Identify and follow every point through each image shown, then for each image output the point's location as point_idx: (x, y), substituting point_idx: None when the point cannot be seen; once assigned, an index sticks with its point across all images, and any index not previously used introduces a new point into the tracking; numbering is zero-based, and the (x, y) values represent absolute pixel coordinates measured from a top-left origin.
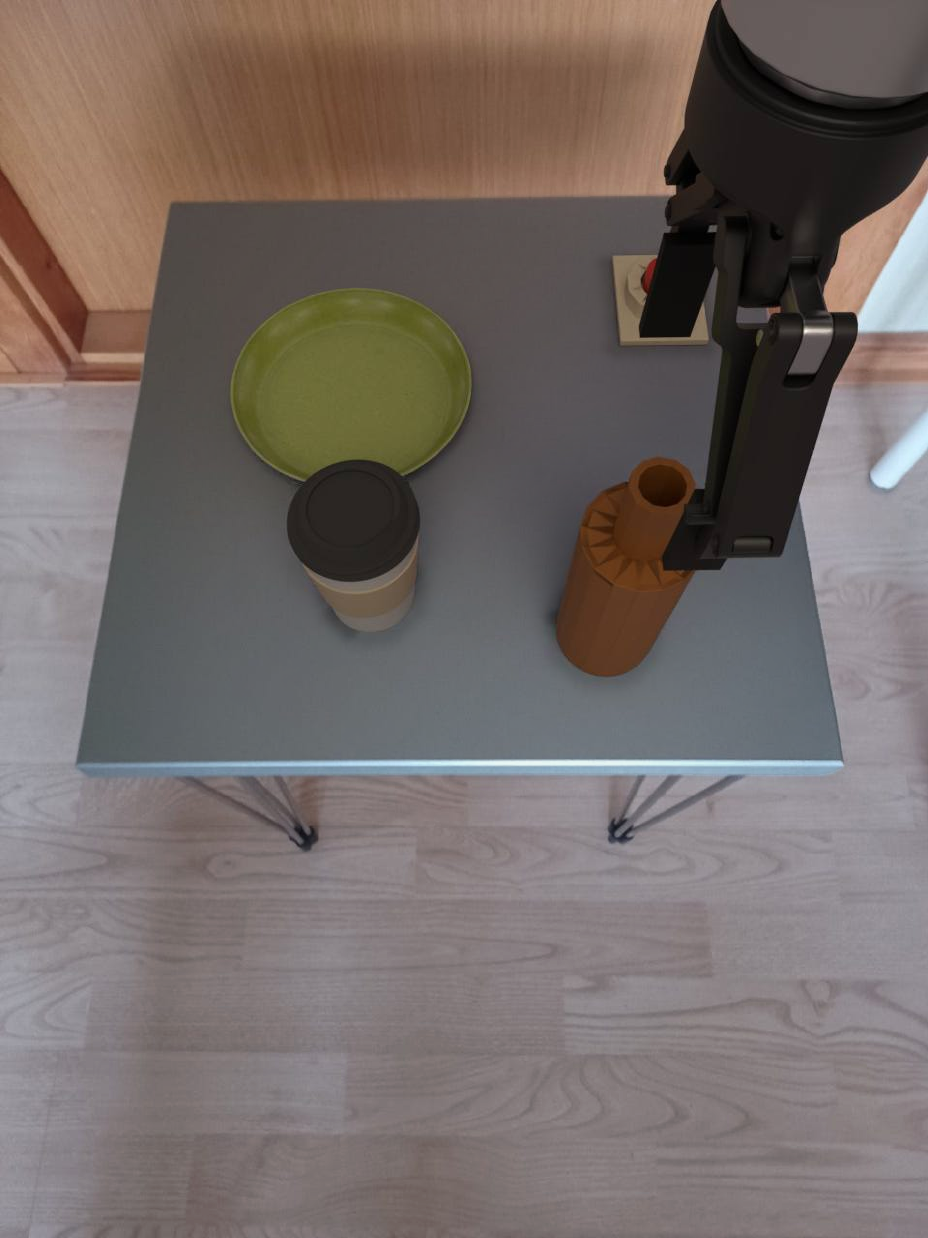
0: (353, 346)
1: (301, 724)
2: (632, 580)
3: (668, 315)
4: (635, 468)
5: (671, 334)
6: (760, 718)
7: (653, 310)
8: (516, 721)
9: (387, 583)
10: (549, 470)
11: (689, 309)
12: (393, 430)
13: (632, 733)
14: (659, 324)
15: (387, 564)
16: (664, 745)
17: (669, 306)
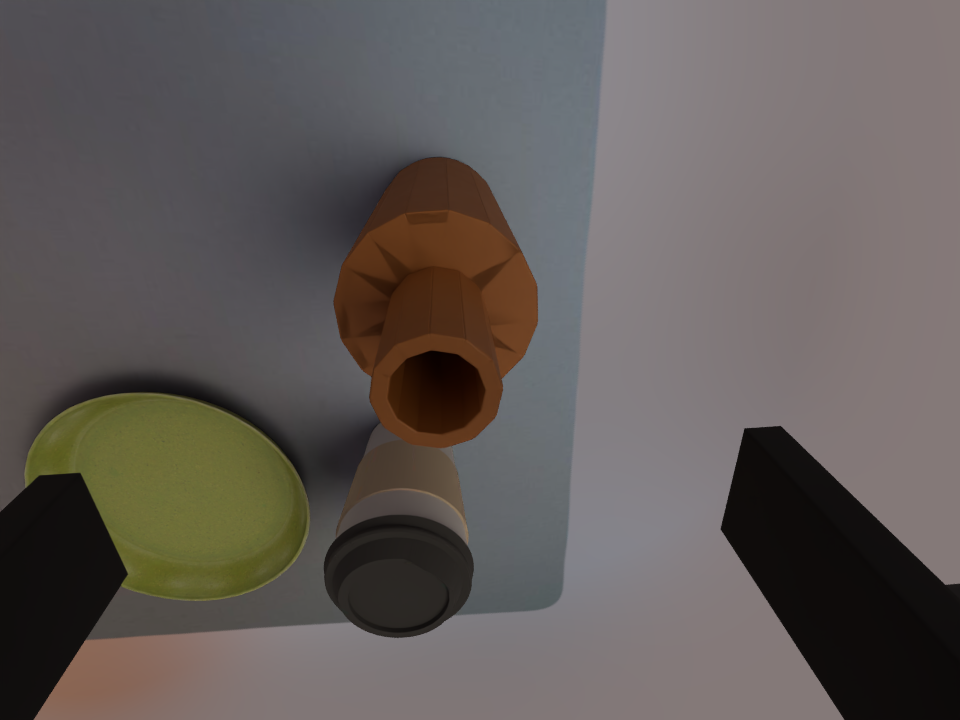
0: (115, 494)
1: (540, 487)
2: (518, 330)
3: (53, 607)
4: (402, 439)
5: (93, 523)
6: (553, 8)
7: (59, 662)
8: (544, 312)
9: (454, 510)
10: (226, 281)
11: (10, 588)
12: (216, 450)
13: (564, 187)
14: (84, 588)
15: (454, 543)
16: (580, 148)
17: (28, 645)
